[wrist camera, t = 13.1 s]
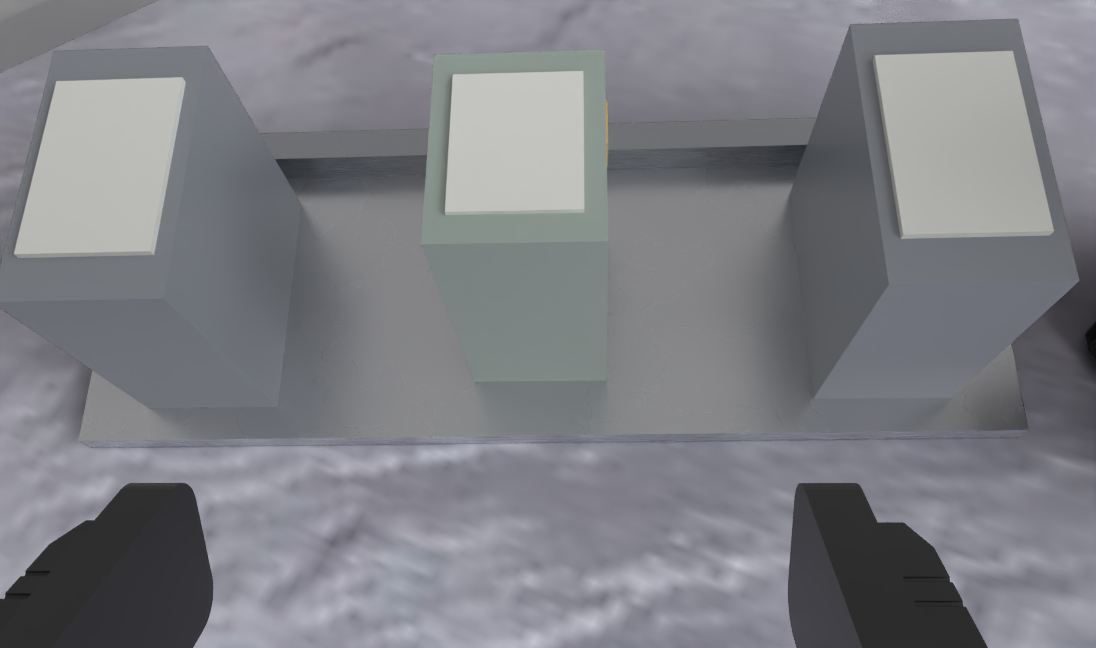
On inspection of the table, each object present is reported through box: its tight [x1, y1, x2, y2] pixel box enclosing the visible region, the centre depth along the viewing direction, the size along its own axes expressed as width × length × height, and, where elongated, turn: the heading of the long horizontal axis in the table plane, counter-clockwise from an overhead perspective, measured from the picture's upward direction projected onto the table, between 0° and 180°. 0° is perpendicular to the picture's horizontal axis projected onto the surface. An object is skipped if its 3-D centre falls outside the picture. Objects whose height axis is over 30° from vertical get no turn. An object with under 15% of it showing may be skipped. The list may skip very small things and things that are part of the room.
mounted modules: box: [0, 19, 1080, 408], centre depth 26 cm, size 24×7×8 cm, turn 90°
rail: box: [78, 118, 1028, 448], centre depth 29 cm, size 28×10×2 cm, turn 90°
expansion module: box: [421, 50, 608, 382], centre depth 25 cm, size 4×5×9 cm
